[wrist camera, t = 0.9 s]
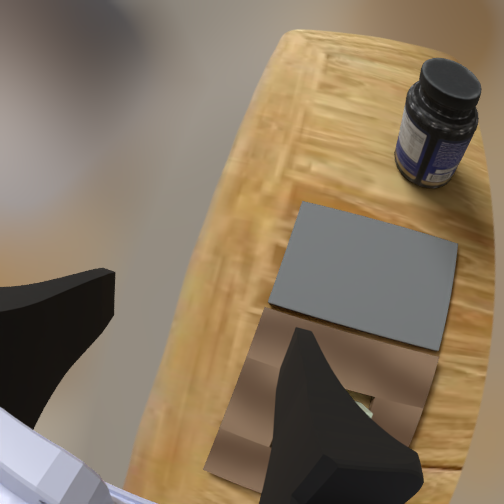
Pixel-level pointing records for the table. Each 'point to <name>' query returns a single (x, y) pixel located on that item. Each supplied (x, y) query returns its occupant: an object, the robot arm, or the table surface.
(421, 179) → the pill bottle
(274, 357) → the pocket board
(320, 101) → the table surface
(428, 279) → the mat
